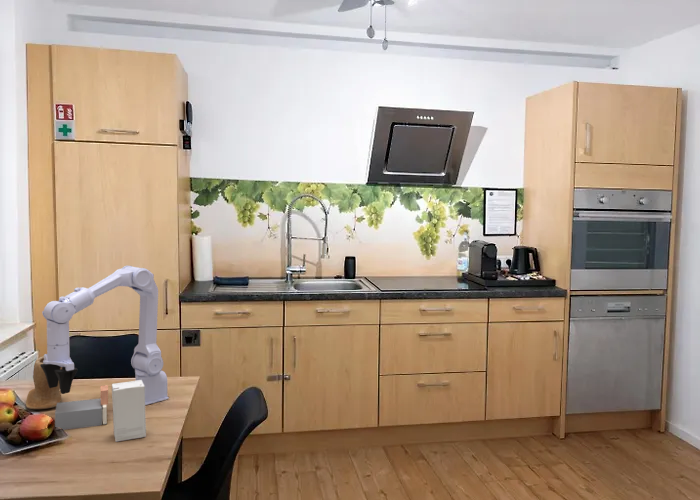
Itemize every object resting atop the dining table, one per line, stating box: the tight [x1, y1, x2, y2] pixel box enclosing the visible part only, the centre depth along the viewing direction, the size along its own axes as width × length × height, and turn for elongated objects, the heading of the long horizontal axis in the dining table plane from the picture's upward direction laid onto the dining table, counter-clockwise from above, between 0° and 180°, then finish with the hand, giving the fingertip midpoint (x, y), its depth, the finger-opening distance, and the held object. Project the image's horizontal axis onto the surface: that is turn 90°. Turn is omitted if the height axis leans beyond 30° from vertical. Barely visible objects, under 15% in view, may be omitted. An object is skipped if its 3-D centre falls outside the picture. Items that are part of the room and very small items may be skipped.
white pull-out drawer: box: [100, 384, 109, 425], centre depth 173 cm, size 13×9×9 cm
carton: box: [54, 397, 103, 431], centre depth 173 cm, size 12×9×5 cm
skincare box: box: [111, 379, 147, 442], centre depth 163 cm, size 8×6×15 cm
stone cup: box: [25, 355, 62, 410], centre depth 187 cm, size 15×12×15 cm
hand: (59, 390), depth 170 cm, fingers open, 7 cm apart
